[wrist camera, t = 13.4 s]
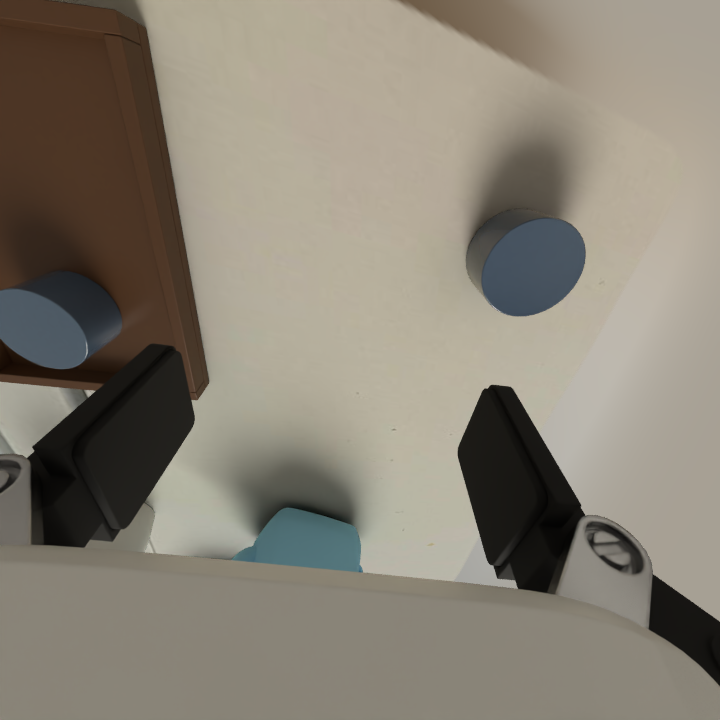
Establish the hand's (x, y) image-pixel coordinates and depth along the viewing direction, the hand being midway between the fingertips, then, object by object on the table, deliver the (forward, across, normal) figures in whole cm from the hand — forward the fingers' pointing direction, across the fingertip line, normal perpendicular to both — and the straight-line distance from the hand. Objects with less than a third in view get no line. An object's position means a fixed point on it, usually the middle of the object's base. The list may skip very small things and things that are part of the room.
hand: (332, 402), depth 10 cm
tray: (+14, +19, +1) cm, 23 cm away
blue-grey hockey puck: (+14, -10, -2) cm, 17 cm away
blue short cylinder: (+13, +19, +5) cm, 23 cm away
